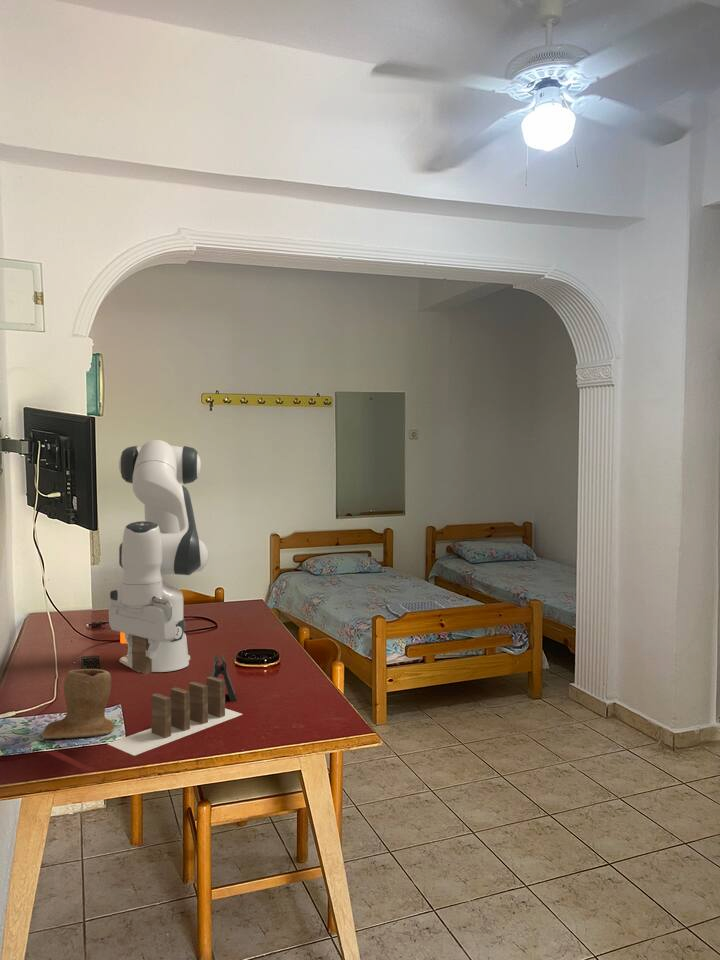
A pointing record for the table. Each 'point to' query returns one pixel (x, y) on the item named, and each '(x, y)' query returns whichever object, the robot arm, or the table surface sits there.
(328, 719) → the table surface
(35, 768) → the table surface
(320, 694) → the table surface
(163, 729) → the domino
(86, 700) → the brown boot
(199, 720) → the domino
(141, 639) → the domino
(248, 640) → the table surface
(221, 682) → the domino
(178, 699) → the domino
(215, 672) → the dark grey a-frame stand
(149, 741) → the board
